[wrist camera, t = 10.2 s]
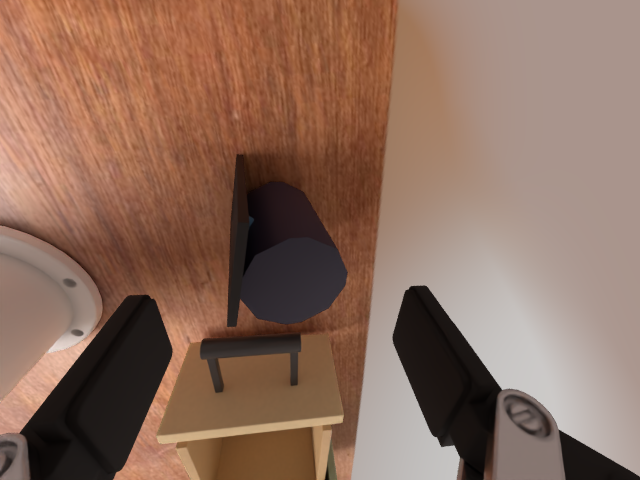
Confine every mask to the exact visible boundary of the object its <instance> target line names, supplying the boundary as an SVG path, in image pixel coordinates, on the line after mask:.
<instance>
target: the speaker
mask: <svg viewBox="0 0 640 480" xmlns="http://www.w3.org/2000/svg"><path fill="white" fill-rule="evenodd" d="M347 273H348V272H347V270H346V268H345V265H344V263H343V261H342V258H341V256H340V254H339V252H338V249H337V248H336V246H335V244H334V242H333V241H332V239H331V237H330V236H329V234H328V232H327V231H326V229H325V227H324V226H323V224H322V222H321V221H320V219H319V217H318V216H317V214H316V212H315V210H314V209H313V207H312V205H311V204H310V202H309V200H308V199H307V197H306V195H305V194H304V192H302V191H300V190H298V189H296V188H294V187H292V186H290V185H288V184H286V183H284V182H269V183H267V184H265V185H263V186H261V187H259V188H257V189H255V190H253V191H251V192H249V193H248V194H247V193H246V183H245V172H244V162H243V155H239V154H237V157H236V168H235V179H234V191H233V202H232V213H231V228H230V257H229V286H228V315H227V327H236V326H237V318H238V310H239V302H240V299H241V300H242V301H243V302H244V304H245V305H246V306H247V307H248V308H249V309H250V311H251V312H252V313H253V314H254V315H255V316H256V318H257V319H262V320H267V321H272V322H277V323H282V324H292V323H298V322H302V321H304V320H306V319H308V318H310V317H312V316H314V315H316V314H318V313H320V312H322V311H324V310H326V309H328V308H329V307H330V306H331V304H332V303H333V301H334V300H335V299H336V297H337V296H338V295H339V293H340V292H341V291H342V289H343V288H344V286H345V284H346V279H347Z"/></svg>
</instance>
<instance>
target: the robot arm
mask: <svg viewBox="0 0 640 480" xmlns="http://www.w3.org/2000/svg"><path fill="white" fill-rule="evenodd" d="M102 310H103V306H102V298H101V295H100V293H99V290H98V288H97V286H96V285H95V283H94V282H93V280H92V278H91V277H90V276H89V275H88V274H87V272H86V271H85V270H84V269H83V268H82V267H81V266H80V265H79V264H78V263H77V262H75V261H74V260H73V259H71V258H70V257H69V256H68V255H66V254H65V253H64V252H62V251H60V250H59V249H57V248H55V247H54V246H52V245H50V244H49V243H47V242H45V241H42V240H40V239H38V238H36V237H34V236H31V235H29V234H27V233H24V232H21V231H18V230H15V229H12V228H9V227H6V226H1V225H0V403H1V402H2V401H3V400H4V398H5V397H6V396H7V395H8V394H9V393H10V392H11V391H12V390H13V389H14V387H15V386H16V385H17V384H18V383H19V382H20V381H21V380H22V379H23V378H24V376H25V375H26V374H27V373H28V372H29V371H30V370H31V369H32V368H33V367H34V365H35V364H36V363H37V362H38V361H39V360H40V359H41V358H42V357H43V356H44V355H45V353H52V352H56V351H60V350H64V349H67V348H70V347H72V346H74V345H77V344H78V343H80V342H81V341H83V340H84V339H85V338H87V336H88V335H89V334H90V333H91V332H92V331H93V329H94V328H95V327H96V326H97V324H98V322H99V321H100V319H101V315H102ZM393 344H394V346H395V348H396V351H397V353H398V356H399V358H400V361H401V363H402V365H403V368H404V370H405V372H406V375H407V377H408V379H409V382H410V384H411V387H412V389H413V391H414V394H415V396H416V399H417V401H418V403H419V406H420V408H421V411H422V413H423V415H424V418H425V420H426V422H427V425H428V427H429V429H430V431H431V433H432V435H433V436H434V437H437V438H438V440H439V443H440V445H441V447H444V446H453V445H455V448H456V449H457V452H458V454H459V456H460V462H459V468H458V475H457V480H640V477H639V476H638V475H636V474H635V473H633V472H631V471H630V470H628V469H626V468H624V467H623V466H621V465H619V464H617V463H615V462H614V461H612V460H610V459H609V458H607V457H605V456H604V455H602V454H600V453H598V452H596V451H595V450H593V449H591V448H590V447H588V446H586V445H585V444H583V443H581V442H579V441H577V440H576V439H574V438H572V437H571V436H569V435H567V434H565V433H564V432H562V431H560V430H559V429H558V427H557V424H556V422H555V420H554V418H553V417H552V415H551V414H550V412H549V411H548V410H547V409H546V408H545V407H544V406H543V405H542V404H541V403H540V402H538V401H537V400H536V399H535V398H533V397H531V396H530V395H528V394H526V393H524V392H521V391H519V390H514V389H505V390H502V389H501V388H500V386H499V385H498V384H497V382H496V381H495V379H494V378H493V377H492V375H491V374H490V372H489V371H488V370H487V368H486V367H485V365H484V364H483V363H482V361H481V360H480V359H479V357H478V356H477V354H476V353H475V352H474V350H473V349H472V347H471V346H470V345H469V343H468V342H467V340H466V339H465V338H464V336H463V335H462V333H461V332H460V331H459V329H458V328H457V327H456V325H455V324H454V323H453V322H452V321H451V319H450V318H449V316H448V315H447V313H446V312H445V311H444V309H443V308H442V307H441V305H440V304H439V302H438V301H437V300H436V298H435V297H434V295H433V294H432V293H431V291H430V290H429V288H428V287H427V286H411V287H410V288H409V290H406V291H405V294H404V297H403V301H402V304H401V308H400V311H399V315H398V319H397V322H396V326H395V329H394V333H393ZM171 357H172V346H171V343H170V340H169V337H168V335H167V332H166V329H165V326H164V323H163V321H162V318H161V315H160V312H159V309H158V306H157V304H156V301H155V300H154V299H151V298H150V296H149V295H130V296H127V297H126V298H125V299H124V301H123V302H122V303H121V304H120V306H119V307H118V308H117V310H116V311H115V312H114V313H113V315H112V316H111V317H110V318H109V320H108V321H107V322H106V324H105V325H104V326H103V327H102V329H101V330H100V331H99V333H98V334H97V335H96V336H95V338H94V339H93V340H92V341H91V343H90V344H89V345H88V346H87V348H86V349H85V350H84V351H83V353H82V354H81V355H80V357H79V358H78V359H77V360H76V362H75V363H74V364H73V365H72V367H71V368H70V369H69V371H68V372H67V373H66V374H65V376H64V377H63V378H62V379H61V381H60V382H59V383H58V385H57V386H56V387H55V388H54V390H53V391H52V392H51V394H50V395H49V396H48V397H47V399H46V400H45V401H44V402H43V404H42V405H41V406H40V408H39V409H38V410H37V411H36V413H35V414H34V415H33V416H32V418H31V419H30V420H29V422H28V423H27V424H26V425H25V427H24V428H23V429H22V431H21V432H20V433H6V434H2V435H0V480H113V479H114V476H115V474H116V472H118V471H120V470H121V469H122V468H123V467H124V465H125V463H126V461H127V459H128V456H129V454H130V452H131V449H132V447H133V445H134V443H135V440H136V438H137V436H138V433H139V431H140V429H141V426H142V424H143V422H144V420H145V417H146V415H147V413H148V410H149V408H150V406H151V403H152V401H153V399H154V397H155V394H156V392H157V390H158V387H159V385H160V383H161V381H162V378H163V376H164V374H165V371H166V369H167V367H168V364H169V362H170V360H171Z"/></svg>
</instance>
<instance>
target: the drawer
mask: <svg viewBox="0 0 640 480" xmlns="http://www.w3.org/2000/svg"><path fill="white" fill-rule="evenodd" d="M343 417H344V413H343V407H342V402H341V397H340V392H339V387H338V381H337V376H336V371H335V366H334V360H333V355H332V350H331V345H330V339H329V334H328V333H327V334H313V335H301V333H300V332H294V333H279V334H264V335H249V336H234V337H219V338H204V339H203V340H202V342H196V343H190V345H189V348H188V351H187V353H186V356H185V359H184V361H183V364H182V367H181V370H180V372H179V375H178V378H177V380H176V383H175V386H174V389H173V391H172V394H171V397H170V399H169V402H168V405H167V408H166V410H165V413H164V416H163V418H162V421H161V424H160V427H159V429H158V432H157V435H156V437H157V439H158V441H159V443H160V444H166V443H175V442H177V445H176V451H177V453H178V455H179V457H180V459H181V461H182V463H183V465H184V467H185V469H186V472H187V474H188V476H189V478H190V480H325V475H326V468H327V461H328V454H329V447H330V440H331V434H332V425H331V424H338V423H342V422H343Z"/></svg>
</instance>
